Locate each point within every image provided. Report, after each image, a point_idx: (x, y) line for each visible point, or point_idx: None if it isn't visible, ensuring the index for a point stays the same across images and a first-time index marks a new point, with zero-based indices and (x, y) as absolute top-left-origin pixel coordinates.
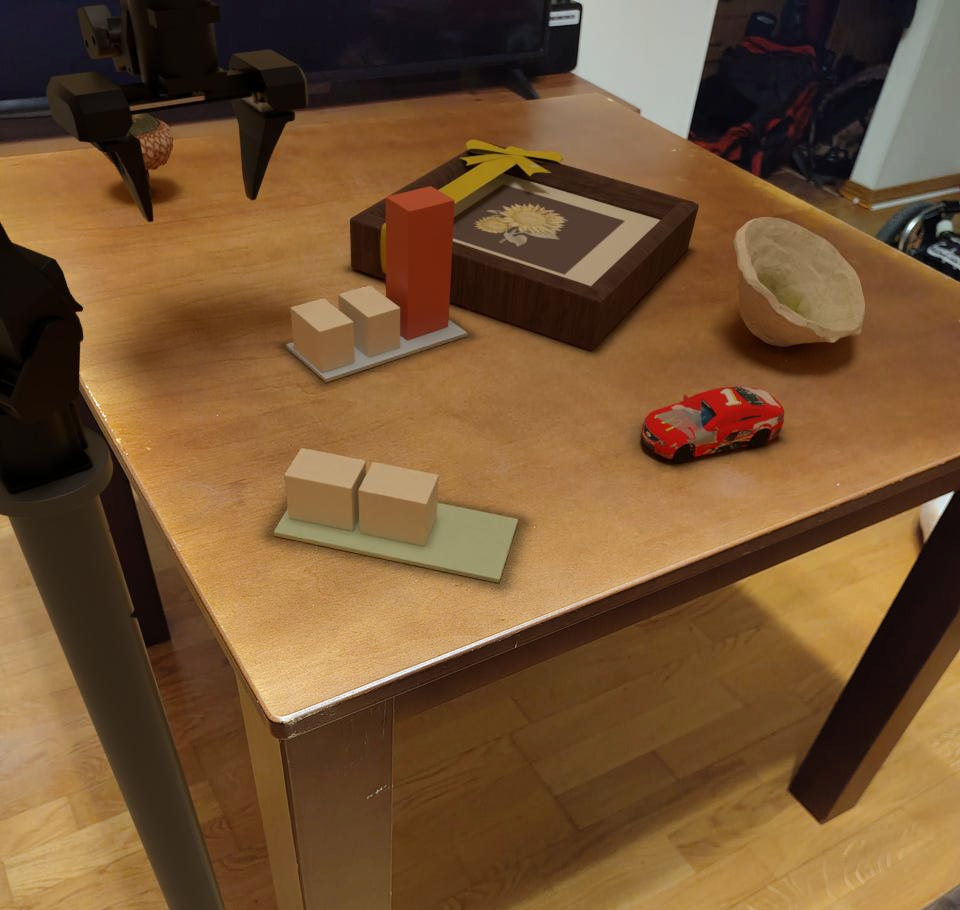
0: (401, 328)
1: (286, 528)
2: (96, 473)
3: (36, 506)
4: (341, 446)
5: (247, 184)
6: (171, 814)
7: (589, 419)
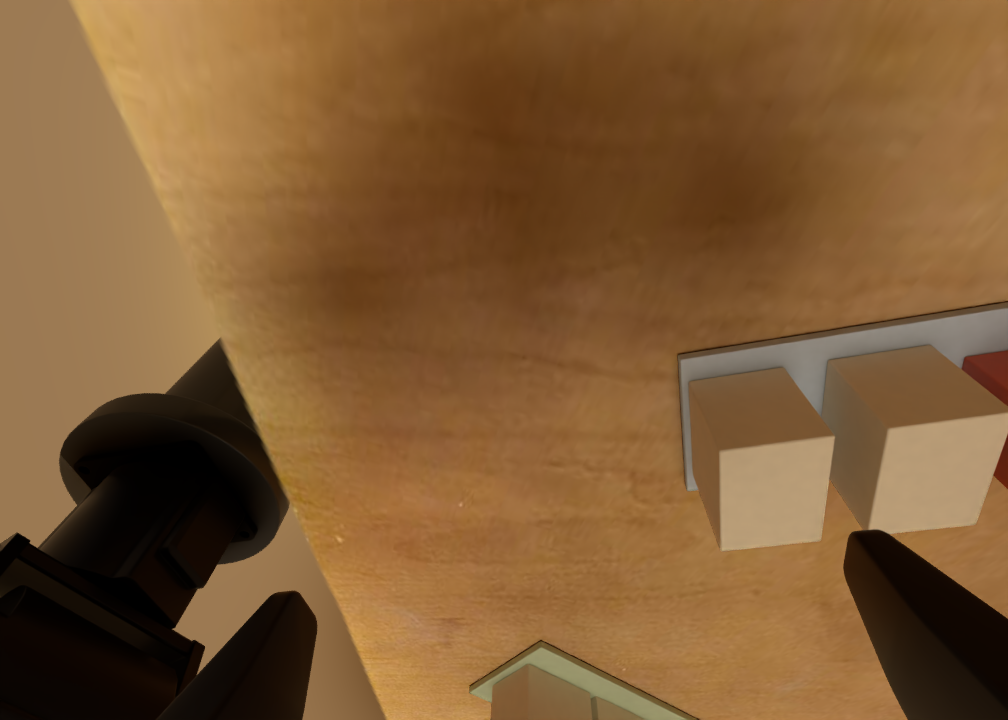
0: None
1: (484, 693)
2: (264, 543)
3: None
4: (617, 607)
5: (889, 623)
6: None
7: None
